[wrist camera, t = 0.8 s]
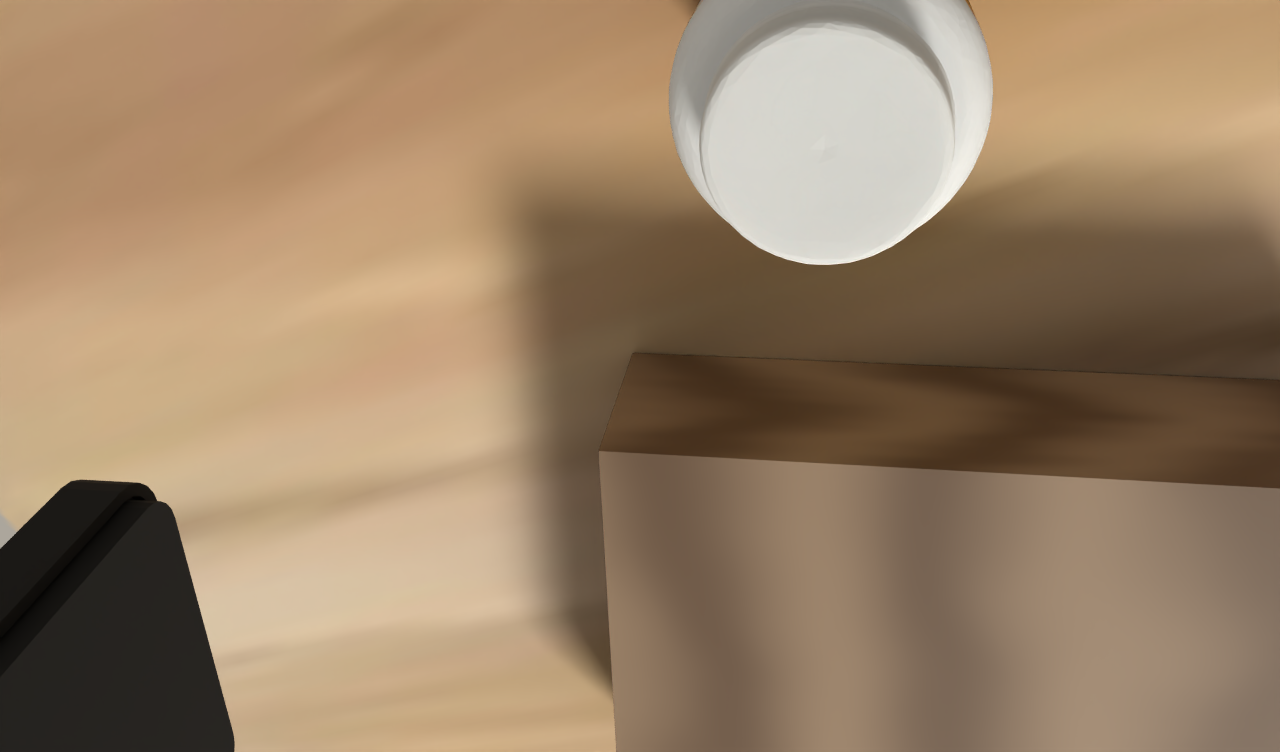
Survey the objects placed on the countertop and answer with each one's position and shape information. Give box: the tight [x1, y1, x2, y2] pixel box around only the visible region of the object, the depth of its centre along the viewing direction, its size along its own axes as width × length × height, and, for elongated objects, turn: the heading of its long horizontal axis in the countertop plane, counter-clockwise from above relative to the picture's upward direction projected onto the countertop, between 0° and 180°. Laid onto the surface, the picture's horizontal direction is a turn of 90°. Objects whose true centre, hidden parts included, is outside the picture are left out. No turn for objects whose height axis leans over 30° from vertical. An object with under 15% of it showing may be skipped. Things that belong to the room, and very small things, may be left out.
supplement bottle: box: [669, 0, 993, 265], centre depth 23 cm, size 6×6×10 cm
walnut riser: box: [598, 353, 1280, 752], centre depth 32 cm, size 18×14×5 cm
